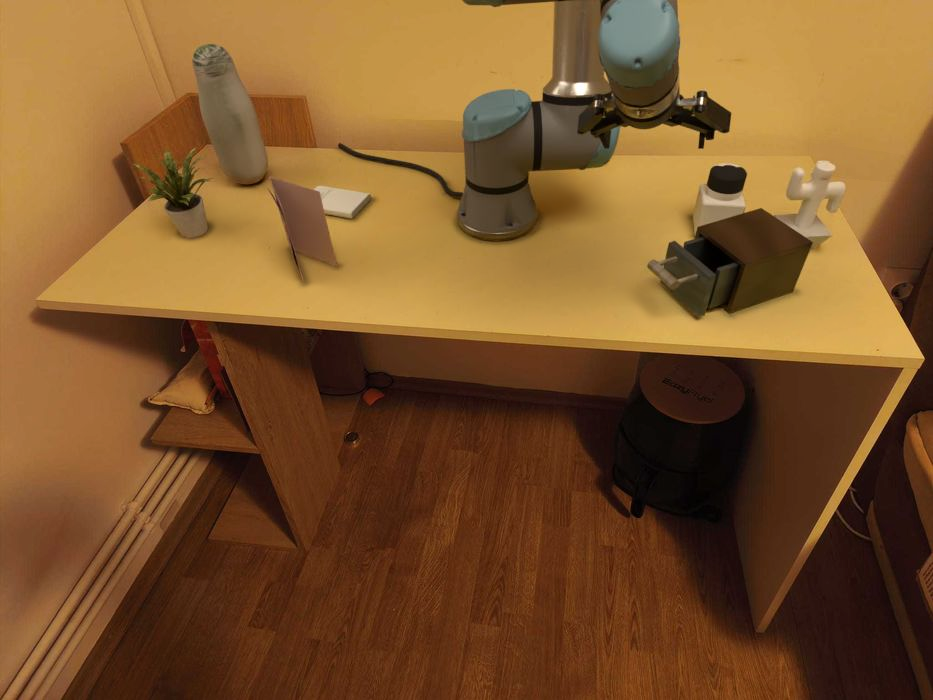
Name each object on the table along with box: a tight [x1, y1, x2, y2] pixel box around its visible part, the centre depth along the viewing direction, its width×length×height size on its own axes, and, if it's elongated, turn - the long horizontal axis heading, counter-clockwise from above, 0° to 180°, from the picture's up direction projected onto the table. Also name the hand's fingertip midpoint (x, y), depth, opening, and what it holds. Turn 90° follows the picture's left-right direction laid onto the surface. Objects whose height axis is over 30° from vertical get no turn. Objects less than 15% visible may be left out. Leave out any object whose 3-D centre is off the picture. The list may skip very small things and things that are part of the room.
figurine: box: [773, 159, 847, 250], centre depth 104 cm, size 7×9×15 cm
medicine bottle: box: [692, 162, 748, 236], centre depth 109 cm, size 7×7×12 cm
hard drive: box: [312, 184, 372, 220], centre depth 125 cm, size 2×8×12 cm
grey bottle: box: [192, 43, 269, 185], centre depth 126 cm, size 10×10×28 cm
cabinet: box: [694, 207, 813, 314], centre depth 98 cm, size 13×11×10 cm
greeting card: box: [267, 176, 338, 283], centre depth 107 cm, size 11×7×15 cm, turn 23°
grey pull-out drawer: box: [646, 236, 741, 318], centre depth 96 cm, size 16×10×8 cm, turn 112°
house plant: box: [130, 145, 214, 239], centre depth 115 cm, size 14×14×16 cm
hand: (653, 139), depth 92 cm, fingers open, 13 cm apart
